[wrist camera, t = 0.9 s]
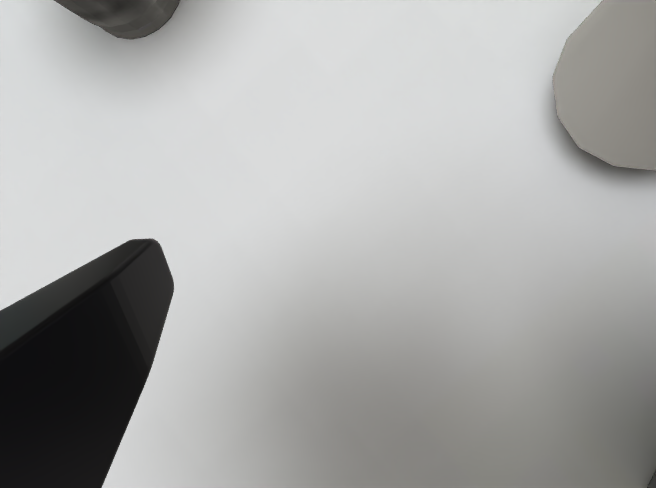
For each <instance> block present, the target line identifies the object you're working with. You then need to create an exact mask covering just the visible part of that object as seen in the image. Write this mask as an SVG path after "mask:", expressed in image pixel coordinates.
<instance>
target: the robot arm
mask: <svg viewBox="0 0 656 488" xmlns="http://www.w3.org/2000/svg"><path fill="white" fill-rule="evenodd" d="M173 292H174V282H173V278H172V275H171V272H170V269H169V267H168V264H167V261H166V258H165V256H164V253H163V250H162V248H161V246H160V244H159V243H158V241H156V240H154V239H133V240H129V241H127V242H126V243H124V244H122V245H120V246H118V247H116V248H115V249H113V250H111V251H109V252H107V253H105V254H103V255H102V256H100V257H98V258H96V259H94V260H92V261H91V262H89V263H87V264H85V265H83V266H81V267H80V268H78V269H76V270H74V271H72V272H70V273H69V274H67V275H65V276H63V277H61V278H59V279H58V280H56V281H54V282H52V283H50V284H48V285H47V286H45V287H43V288H41V289H39V290H37V291H36V292H34V293H32V294H30V295H28V296H26V297H25V298H23V299H21V300H19V301H17V302H15V303H14V304H12V305H10V306H8V307H6V308H4V309H3V310H1V311H0V488H102V485H103V483H104V481H105V478H106V476H107V474H108V471H109V469H110V466H111V464H112V462H113V459H114V457H115V455H116V452H117V450H118V447H119V445H120V443H121V440H122V438H123V435H124V433H125V431H126V428H127V426H128V424H129V421H130V419H131V416H132V414H133V412H134V409H135V407H136V404H137V402H138V400H139V397H140V395H141V393H142V390H143V388H144V385H145V383H146V380H147V378H148V375H149V373H150V370H151V367H152V364H153V361H154V357H155V354H156V351H157V347H158V344H159V340H160V337H161V334H162V330H163V327H164V323H165V320H166V317H167V313H168V310H169V306H170V303H171V300H172V296H173Z"/></svg>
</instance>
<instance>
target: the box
mask: <svg viewBox="0 0 656 488" xmlns="http://www.w3.org/2000/svg"><path fill="white" fill-rule="evenodd" d="M647 488H656V471H655V473H654V475H653V477H652V479H651V481H650V483H649V485H648V487H647Z"/></svg>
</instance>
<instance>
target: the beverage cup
mask: <svg viewBox="0 0 656 488" xmlns="http://www.w3.org/2000/svg"><path fill="white" fill-rule="evenodd" d="M54 1H56V2H57V3H59V4H61V5H62V6H64V7H65V8H67V9H69V10H70V11H72V12H73V13H75V14H77V15H78V16H80V17H81V18H83V19H85V20H87V21H89V22H90V23H92V24H94V25H98V26H100V27H101V28H103V29H104V30H105V31H107V32H109V33H110V34H112V35H114V36H116V37H119V38H126V39H134V38H140V37H145V36H147V35H149V34H151V33H152V32H154V31H156V30H158V29H159V28H160V27H161V26H163V25H164V24H165V23H166V22H167V21H168V20H169V19H170V18H171V16H172V14H173V12H174V11H175V9H176V7H177V6H178V3H179V0H54Z"/></svg>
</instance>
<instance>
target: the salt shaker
mask: <svg viewBox="0 0 656 488" xmlns="http://www.w3.org/2000/svg"><path fill="white" fill-rule="evenodd" d="M553 87H554V94H555V102H556V109H557V117H558V118H559V120H560V121H561V122H562V124H563V125H564V127H565V128H566V130H567V131H568V133H569V134H570V136H571V137H572V139H573V140H574V141H575V143H576V144H577V146H578V147H579V148H580V149H582V150H584V151H586V152H588V153H590V154H592V155H594V156H596V157H597V158H599V159H601V160H603V161H605V162H607V163H609V164H611V165H612V166H618V167H627V168H636V169H645V170H654V171H656V0H603V1H602V2H601V3H600V4H599V5H598V6H597V7H596V8H595V9H594V10H593V12H592V13H591V14H590V15H589V16H588V17H587V18H586V19H585V20H584V21H583V22H582V23H581V25H580V26H579V27H578V28H577V29H576V30H575V31H574V32H573V33H572V34H571V35H570V36H569V37H568V39H567V40H566V43H565V45H564V48H563V50H562V53H561V56H560V58H559V61H558V63H557V66H556V69H555V71H554V74H553Z"/></svg>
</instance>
